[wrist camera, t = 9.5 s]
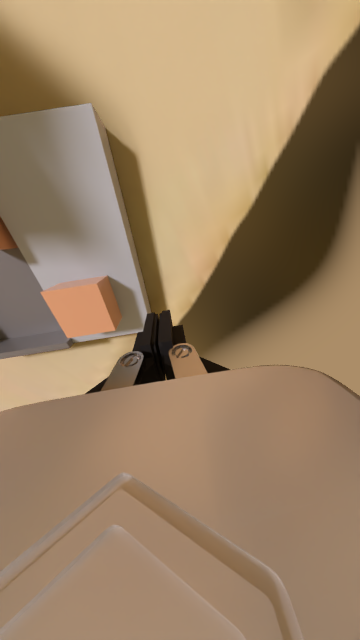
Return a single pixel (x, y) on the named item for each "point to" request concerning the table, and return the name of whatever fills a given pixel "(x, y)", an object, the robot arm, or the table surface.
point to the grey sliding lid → (70, 206)
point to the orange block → (6, 238)
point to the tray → (25, 311)
